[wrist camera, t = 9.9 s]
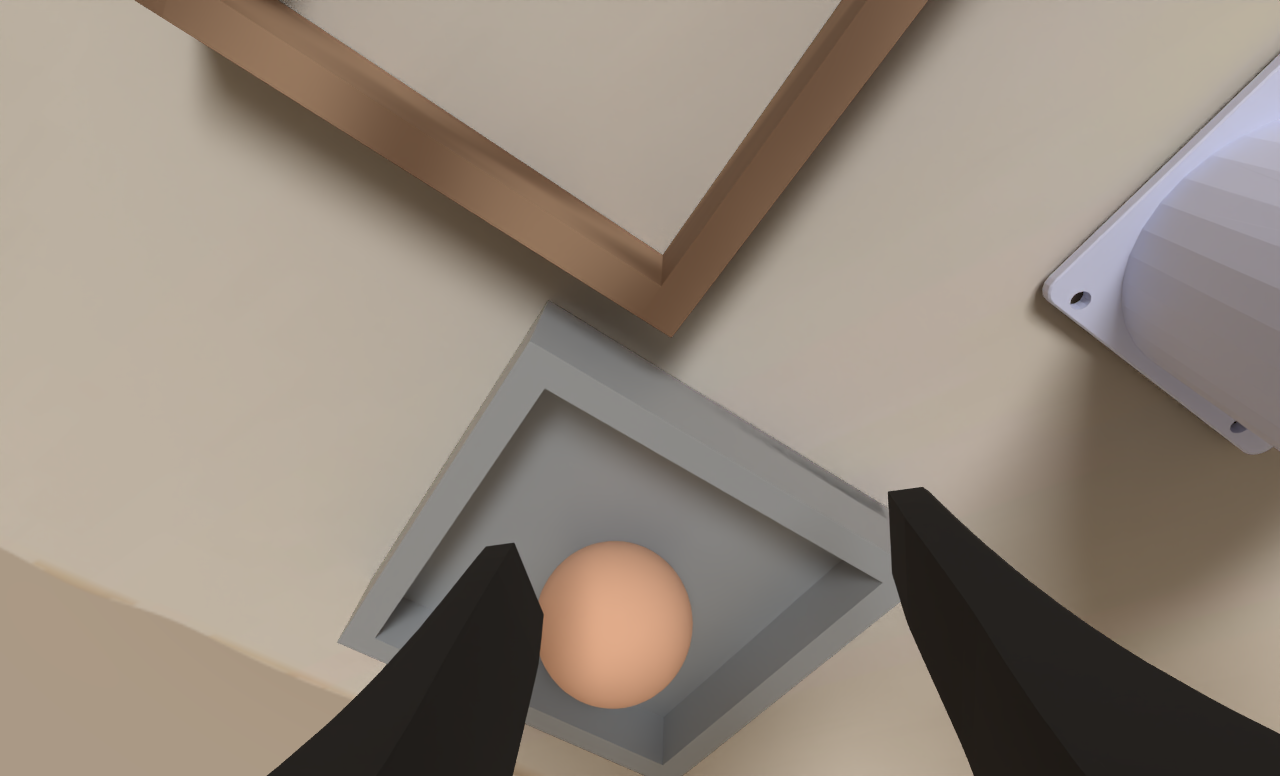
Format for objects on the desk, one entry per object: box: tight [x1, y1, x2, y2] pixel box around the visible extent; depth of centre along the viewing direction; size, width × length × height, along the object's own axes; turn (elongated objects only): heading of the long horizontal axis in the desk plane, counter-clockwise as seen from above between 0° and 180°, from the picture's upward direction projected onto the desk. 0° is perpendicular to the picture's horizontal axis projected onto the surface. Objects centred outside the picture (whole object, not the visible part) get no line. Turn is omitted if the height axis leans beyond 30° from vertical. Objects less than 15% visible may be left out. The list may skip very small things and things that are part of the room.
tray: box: [337, 300, 901, 776], centre depth 23 cm, size 14×14×3 cm
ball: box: [538, 541, 693, 709], centre depth 21 cm, size 5×5×5 cm
